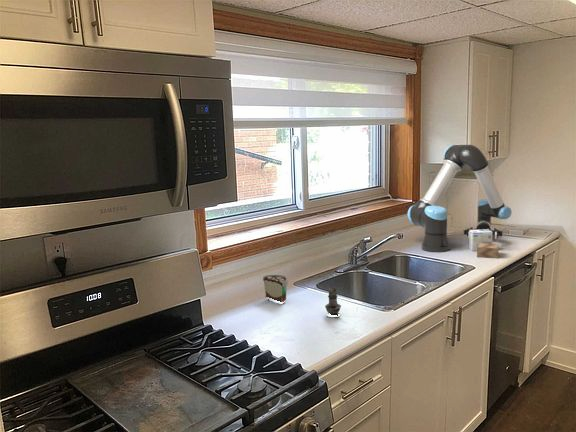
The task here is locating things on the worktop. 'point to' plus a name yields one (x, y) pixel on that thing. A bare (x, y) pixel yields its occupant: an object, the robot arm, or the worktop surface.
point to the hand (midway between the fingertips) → (482, 236)
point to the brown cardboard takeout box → (487, 250)
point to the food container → (275, 287)
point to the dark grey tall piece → (333, 302)
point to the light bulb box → (479, 238)
